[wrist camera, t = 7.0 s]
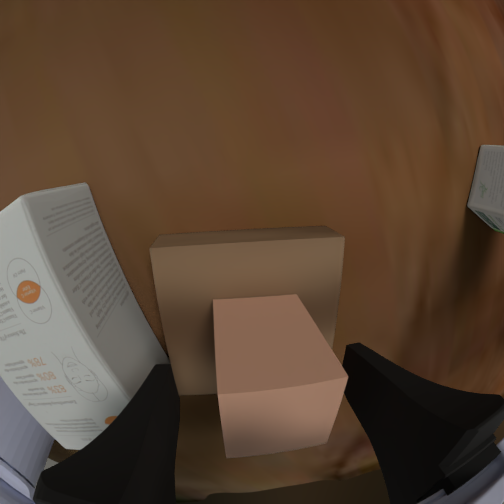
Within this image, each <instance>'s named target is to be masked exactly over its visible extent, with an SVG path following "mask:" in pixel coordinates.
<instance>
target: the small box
mask: <svg viewBox="0 0 504 504" xmlns="http://www.w3.org/2000/svg"><path fill="white" fill-rule="evenodd" d="M156 364H171V363H170V360H169V358H168V357H167V355H166V354H165V352H164V350H163V349H162V347H161V345H160V343H159V342H158V340H157V338H156V336H155V334H154V333H153V331H152V329H151V327H150V325H149V324H148V322H147V320H146V318H145V316H144V314H143V312H142V310H141V309H140V307H139V305H138V303H137V301H136V299H135V297H134V295H133V293H132V291H131V289H130V286H129V284H128V282H127V280H126V278H125V276H124V274H123V271H122V269H121V267H120V265H119V263H118V260H117V258H116V256H115V253H114V251H113V249H112V246H111V244H110V242H109V239H108V237H107V235H106V232H105V230H104V227H103V224H102V222H101V219H100V217H99V214H98V211H97V209H96V206H95V203H94V200H93V197H92V194H91V191H90V188H89V186H88V185H87V184H86V183H80V184H75V185H69V186H64V187H58V188H52V189H46V190H41V191H37V192H33V193H28V194H25V195H22V196H21V197H19V198H18V199H16V200H15V201H14V202H12V203H11V204H10V205H9V206H7V207H6V208H5V209H3V210H2V211H1V212H0V376H1V377H2V379H3V380H4V382H5V383H6V384H7V386H8V387H9V388H10V390H11V391H12V392H13V393H14V395H15V396H16V397H17V398H18V400H19V401H20V402H21V403H22V404H23V406H24V407H25V408H26V409H27V410H28V411H29V413H30V414H31V415H32V416H33V417H34V418H35V419H36V420H37V421H38V422H39V423H40V424H41V426H42V427H43V428H44V429H45V430H46V431H47V432H48V433H49V434H50V435H51V436H52V437H53V438H54V439H55V440H57V441H58V442H59V443H60V444H61V445H62V446H63V447H64V448H65V449H76V450H81V449H82V448H84V447H85V446H86V445H88V444H89V443H90V442H91V441H93V440H94V439H95V438H96V437H97V436H98V435H99V434H101V433H102V432H103V431H104V430H105V429H106V428H107V427H108V426H109V425H110V424H111V423H112V422H113V421H114V420H115V418H116V417H117V416H118V415H119V414H120V413H121V411H122V410H123V409H124V408H125V407H126V405H127V404H128V403H129V402H130V400H131V399H132V398H133V396H134V395H135V393H136V392H137V391H138V389H139V388H140V387H141V385H142V384H143V382H144V381H145V379H146V378H147V376H148V375H149V373H150V371H151V370H152V368H153V367H154V366H155V365H156Z"/></svg>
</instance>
